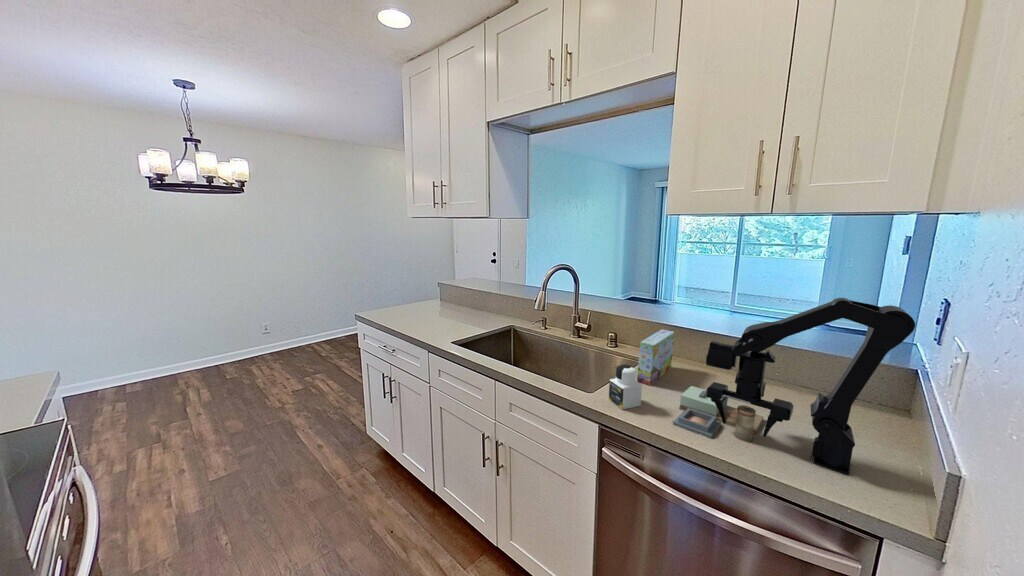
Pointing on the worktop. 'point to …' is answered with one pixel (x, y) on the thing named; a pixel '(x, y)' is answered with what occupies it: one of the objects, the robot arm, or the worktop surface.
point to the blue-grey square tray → (697, 422)
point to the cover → (698, 401)
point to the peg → (744, 423)
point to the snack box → (655, 356)
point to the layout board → (731, 417)
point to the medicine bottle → (625, 388)
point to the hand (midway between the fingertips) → (744, 429)
